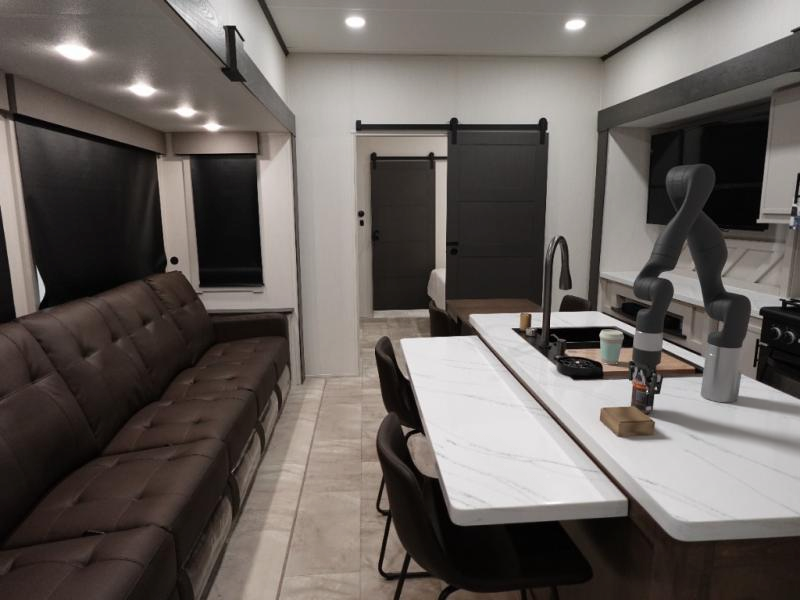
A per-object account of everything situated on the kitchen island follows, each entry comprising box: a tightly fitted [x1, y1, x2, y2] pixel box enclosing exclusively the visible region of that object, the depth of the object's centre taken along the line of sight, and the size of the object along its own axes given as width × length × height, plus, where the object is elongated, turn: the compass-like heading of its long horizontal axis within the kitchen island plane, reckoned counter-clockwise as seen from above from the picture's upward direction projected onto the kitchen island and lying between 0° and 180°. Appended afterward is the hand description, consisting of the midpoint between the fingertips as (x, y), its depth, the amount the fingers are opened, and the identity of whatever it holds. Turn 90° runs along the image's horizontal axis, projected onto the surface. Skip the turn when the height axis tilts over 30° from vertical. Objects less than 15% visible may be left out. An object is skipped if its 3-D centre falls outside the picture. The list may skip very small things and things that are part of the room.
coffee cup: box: [599, 329, 625, 364], centre depth 199 cm, size 8×8×12 cm
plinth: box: [599, 405, 656, 437], centre depth 144 cm, size 10×10×4 cm
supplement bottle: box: [630, 372, 655, 414], centre depth 154 cm, size 6×6×11 cm
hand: (642, 401), depth 155 cm, fingers closed on supplement bottle, 6 cm apart
